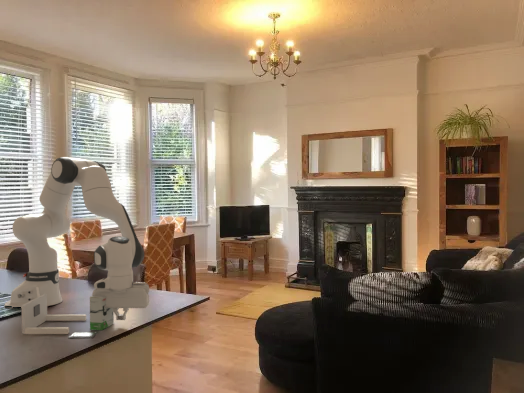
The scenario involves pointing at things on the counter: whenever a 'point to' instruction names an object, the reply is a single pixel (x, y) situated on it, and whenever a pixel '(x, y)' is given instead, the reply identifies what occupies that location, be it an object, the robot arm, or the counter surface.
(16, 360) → the counter surface
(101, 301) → the ink box
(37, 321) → the dock
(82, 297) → the counter surface
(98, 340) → the counter surface
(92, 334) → the picture frame
